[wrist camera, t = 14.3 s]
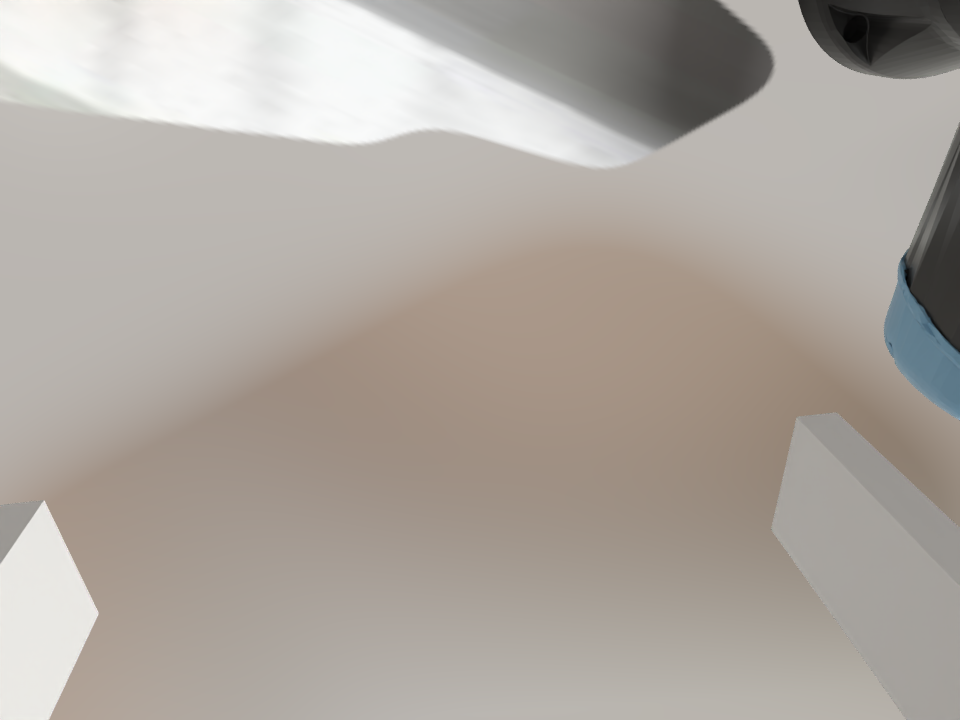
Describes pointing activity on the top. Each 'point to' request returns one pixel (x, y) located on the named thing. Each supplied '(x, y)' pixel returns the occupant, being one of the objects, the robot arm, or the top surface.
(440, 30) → the top surface
